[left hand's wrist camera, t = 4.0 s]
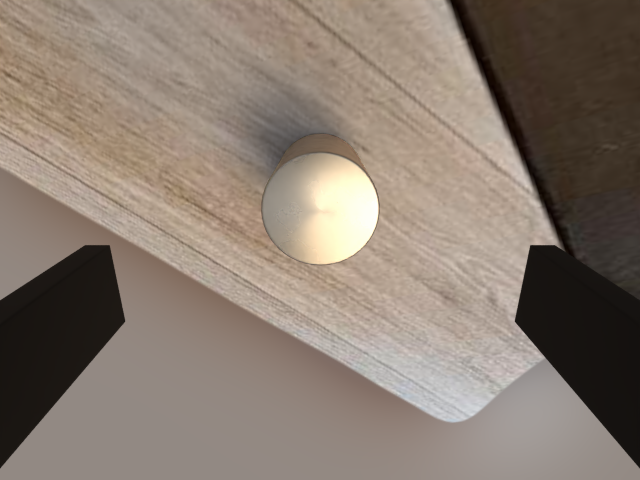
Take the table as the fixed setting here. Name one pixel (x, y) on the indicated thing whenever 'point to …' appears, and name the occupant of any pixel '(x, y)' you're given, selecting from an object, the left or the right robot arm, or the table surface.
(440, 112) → the table surface
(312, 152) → the tin
